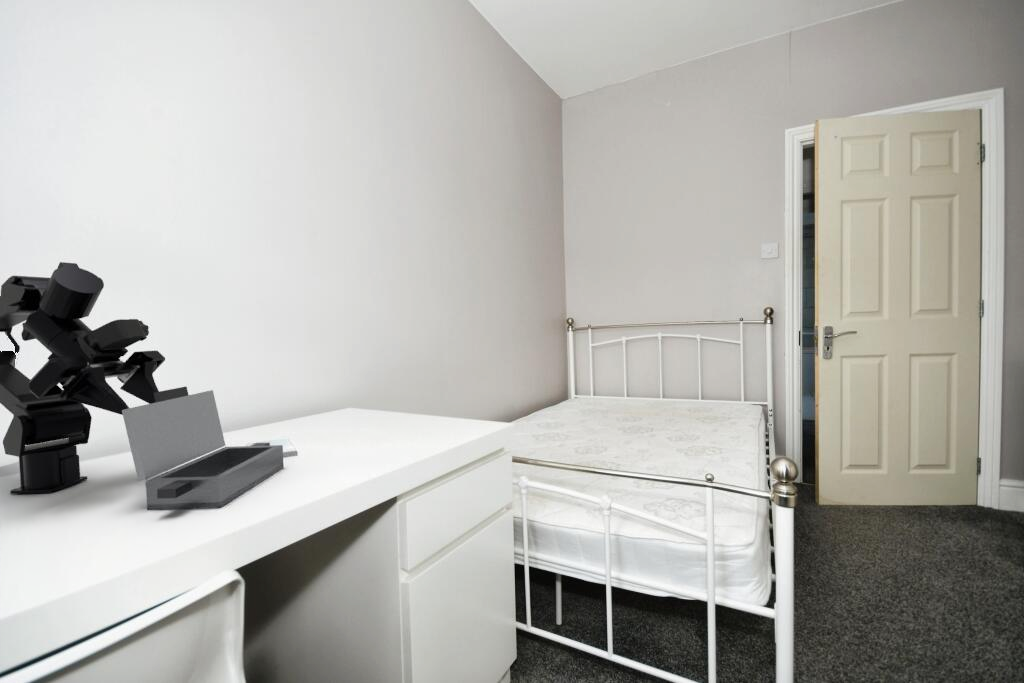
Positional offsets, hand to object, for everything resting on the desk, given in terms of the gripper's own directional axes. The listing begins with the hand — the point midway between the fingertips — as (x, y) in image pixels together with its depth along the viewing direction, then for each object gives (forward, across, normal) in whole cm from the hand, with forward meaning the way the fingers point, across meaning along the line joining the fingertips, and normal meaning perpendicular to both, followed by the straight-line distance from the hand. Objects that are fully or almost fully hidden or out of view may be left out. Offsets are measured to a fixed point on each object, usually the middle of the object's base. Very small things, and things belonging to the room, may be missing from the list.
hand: (145, 408), depth 73 cm
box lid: (+6, 0, -2) cm, 6 cm away
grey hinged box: (+17, 0, +1) cm, 17 cm away
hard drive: (+16, +20, +3) cm, 26 cm away
